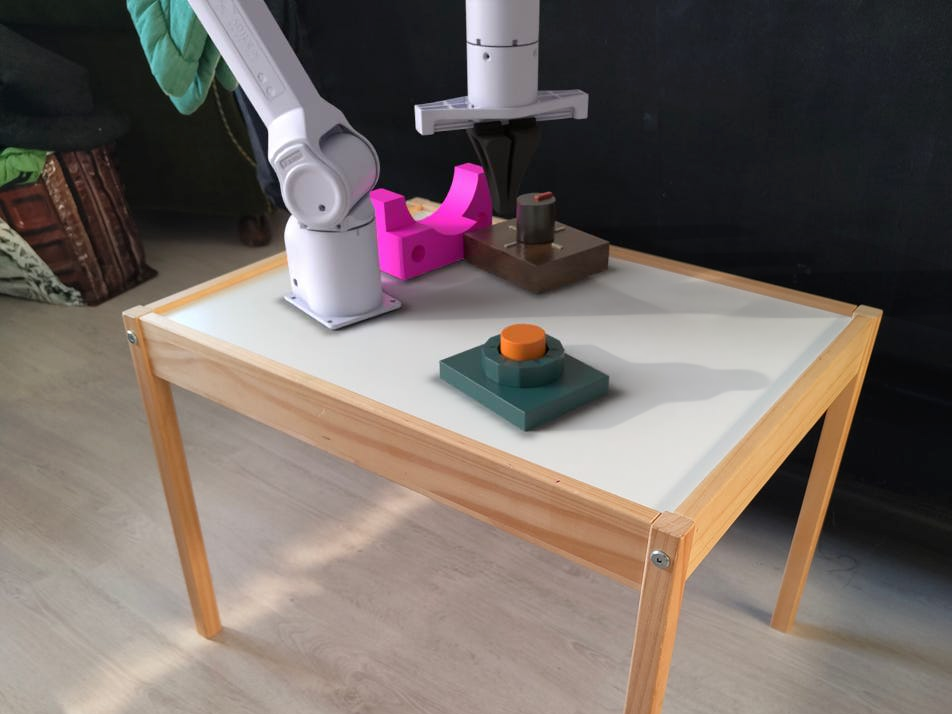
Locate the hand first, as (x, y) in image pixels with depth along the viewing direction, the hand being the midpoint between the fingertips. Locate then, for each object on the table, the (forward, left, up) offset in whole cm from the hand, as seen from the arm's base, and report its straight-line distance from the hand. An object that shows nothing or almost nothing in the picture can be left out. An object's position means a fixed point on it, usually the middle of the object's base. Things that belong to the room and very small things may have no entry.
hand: (502, 210), depth 79 cm
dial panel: (-8, +11, -10) cm, 17 cm away
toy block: (-17, +5, -10) cm, 21 cm away
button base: (+11, -7, -10) cm, 17 cm away
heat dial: (-8, +11, -7) cm, 15 cm away
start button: (+11, -7, -7) cm, 15 cm away
